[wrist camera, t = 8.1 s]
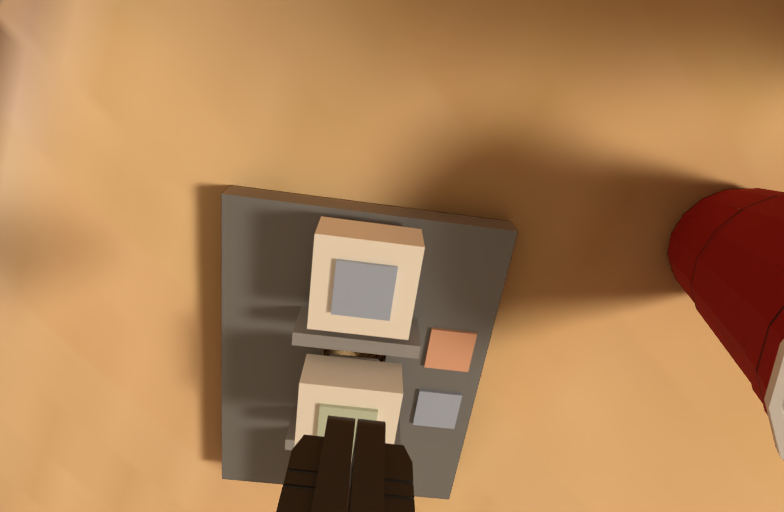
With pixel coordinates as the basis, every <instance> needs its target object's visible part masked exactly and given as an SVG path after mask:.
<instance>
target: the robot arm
mask: <svg viewBox="0 0 784 512" xmlns="http://www.w3.org/2000/svg"><path fill="white" fill-rule="evenodd" d="M354 430H355V418H348V417H339V416H330V415H328V418H327V423H326V429H325V435H324V437H323V436H314V435H305V434H304V435H303V436H302V438H301V439H300V440H299V441H298V443H297V444H296V445H295V446H294V448H293V449H292V451H291V455H290V459H289V463H288V467H287V472H286V475H285V479H284V483H283V487H282V491H281V495H280V499H279V503H278V507H277V511H276V512H415V505H414V485H413V462H412V460H411V458H410V456H409V455H408V453H407V451H406V449H405V447H404V445H397V444H388V443H385V436H386V423H385V422H384V421H375V420H367V419H358V421H357V427H356V434H355V441H354V448H353V440H354ZM352 450H353V454H352ZM351 460H352V461H351Z"/></svg>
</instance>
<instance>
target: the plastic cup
mask: <svg viewBox="0 0 784 512" xmlns="http://www.w3.org/2000/svg"><path fill="white" fill-rule="evenodd" d="M668 257H669V261H670V265H671V269H672V271H673V273H674V276H675V279H676V280H677V281H678V282H679V284H680V285H681V286H682V288H683V289H684V290H685V291H686V293H687V294H688V295H689V296H690V298H691V299H692V300H693V302H694V303H695V306H696V309H697V311H698V312H699V313H700V315H701V316H702V317H703V319H704V320H705V321H706V323H707V324H708V325H709V327H710V328H711V329H712V331H713V332H714V334H715V335H716V336H717V338H718V339H719V340H720V342H721V343H722V344H723V346H724V347H725V348H726V350H727V351H728V352H729V354H730V355H731V357H732V358H733V359H734V361H735V362H736V363H737V365H738V366H739V367H740V369H741V370H742V371H743V373H744V374H745V375H746V377H747V378H748V380H749V381H750V382H751V384H752V388H753V390H754V392H755V393H756V395H757V396H758V398H759V399H760V400H761V402H762V403H763V406H764V410H765V412H766V413H767V415H768V417H769V422H770V426H771V430H772V434H773V438H774V442H775V447H776V449H777V451H778V453H779V455H780V457H781V458H782V459H783V460H784V192H779V191H773V190H766V189H760V188H754V189H729V190H723V191H721V192H718V193H716V194H713V195H711V196H708V197H706V198H703V199H702V200H700V201H699V202H698V203H697V204H696V205H694V206H693V207H692V208H691V209H690V210H688V211H687V212H686V213H685V214H684V215H683V216H682V218H681V219H680V221H679V223H678V224H677V226H676V227H675V229H674V230H673V232H672V234H671V239H670V244H669V249H668Z"/></svg>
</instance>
